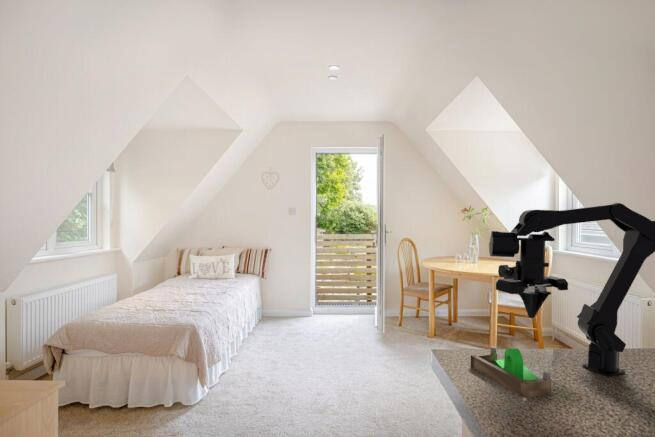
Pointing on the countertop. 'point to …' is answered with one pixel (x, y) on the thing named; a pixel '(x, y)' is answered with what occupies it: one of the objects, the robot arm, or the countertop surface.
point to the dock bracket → (510, 376)
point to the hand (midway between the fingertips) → (531, 317)
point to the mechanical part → (515, 365)
